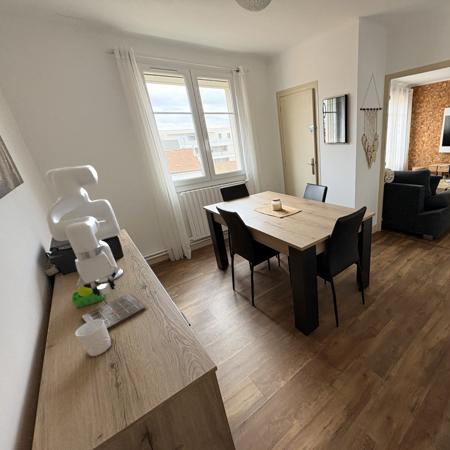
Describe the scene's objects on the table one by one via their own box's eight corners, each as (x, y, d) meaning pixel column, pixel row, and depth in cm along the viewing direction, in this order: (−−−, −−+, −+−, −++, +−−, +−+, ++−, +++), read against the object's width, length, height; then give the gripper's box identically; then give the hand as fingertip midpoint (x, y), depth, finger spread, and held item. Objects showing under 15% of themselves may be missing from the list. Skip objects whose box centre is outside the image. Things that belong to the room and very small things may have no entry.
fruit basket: (107, 292, 120) (98, 273, 115) (105, 301, 113) (96, 281, 109) (77, 301, 114) (67, 281, 110) (74, 312, 107) (63, 291, 103)
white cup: (83, 361, 82) (71, 339, 79) (89, 345, 89) (79, 324, 85) (111, 351, 86) (100, 330, 82) (115, 336, 92) (105, 316, 89)
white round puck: (97, 292, 100) (94, 287, 99) (110, 287, 103) (107, 281, 102) (101, 296, 97) (98, 290, 96) (113, 290, 101) (111, 284, 100)
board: (82, 318, 103) (81, 316, 102) (129, 295, 116) (128, 293, 116) (96, 336, 93) (95, 334, 92) (145, 309, 106) (144, 307, 105)
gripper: (110, 242, 102) (124, 279, 109) (57, 260, 89) (77, 299, 96) (117, 246, 98) (131, 284, 104) (62, 265, 85) (82, 306, 92)
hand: (105, 291), depth 100 cm, fingers closed on white round puck, 4 cm apart
